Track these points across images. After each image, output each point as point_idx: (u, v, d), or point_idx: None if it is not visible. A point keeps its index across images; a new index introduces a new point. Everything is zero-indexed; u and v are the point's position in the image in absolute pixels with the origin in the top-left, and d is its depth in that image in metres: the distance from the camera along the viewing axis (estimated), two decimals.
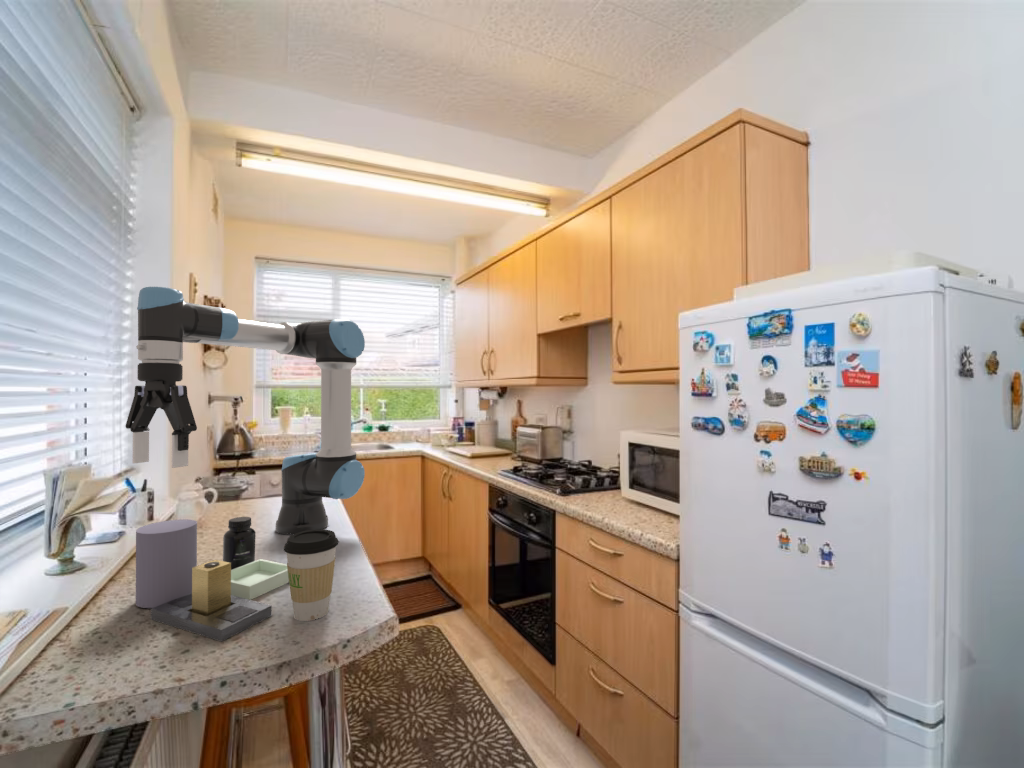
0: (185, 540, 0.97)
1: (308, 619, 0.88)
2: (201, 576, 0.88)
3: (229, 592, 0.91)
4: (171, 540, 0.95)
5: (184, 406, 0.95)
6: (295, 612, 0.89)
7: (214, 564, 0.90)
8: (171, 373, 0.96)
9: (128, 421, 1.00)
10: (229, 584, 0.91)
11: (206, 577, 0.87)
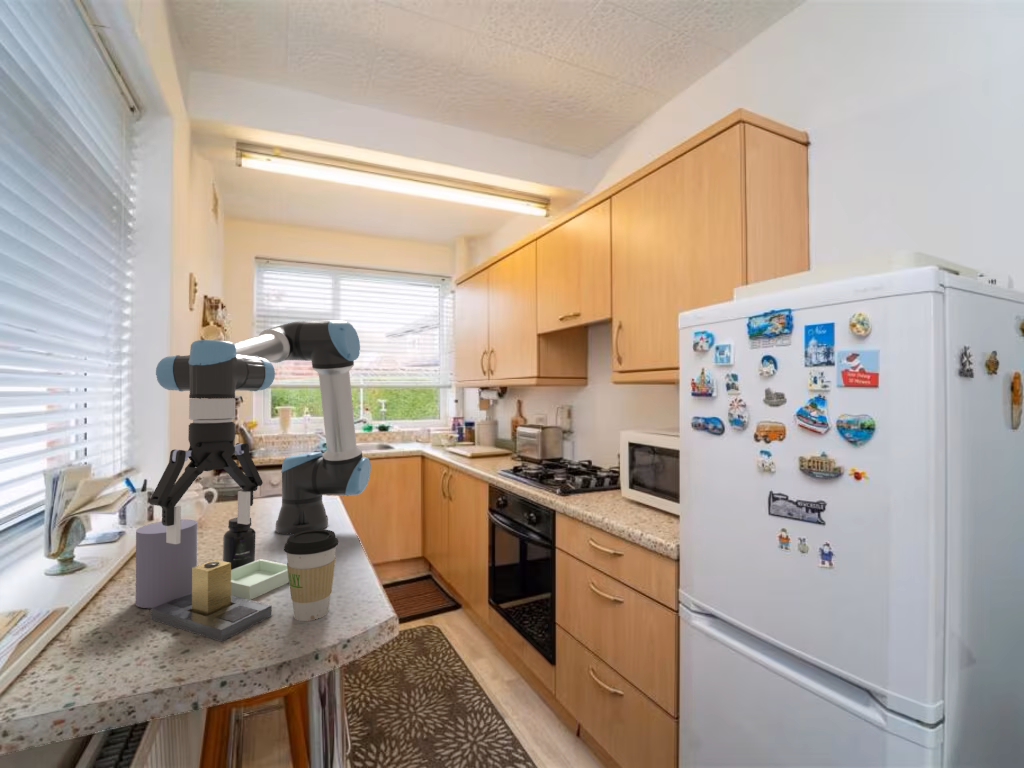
0: (185, 540, 0.97)
1: (308, 619, 0.88)
2: (201, 576, 0.88)
3: (229, 592, 0.91)
4: None
5: (167, 474, 0.82)
6: (295, 612, 0.89)
7: (214, 564, 0.90)
8: (192, 434, 0.87)
9: None
10: (229, 584, 0.91)
11: (206, 577, 0.87)
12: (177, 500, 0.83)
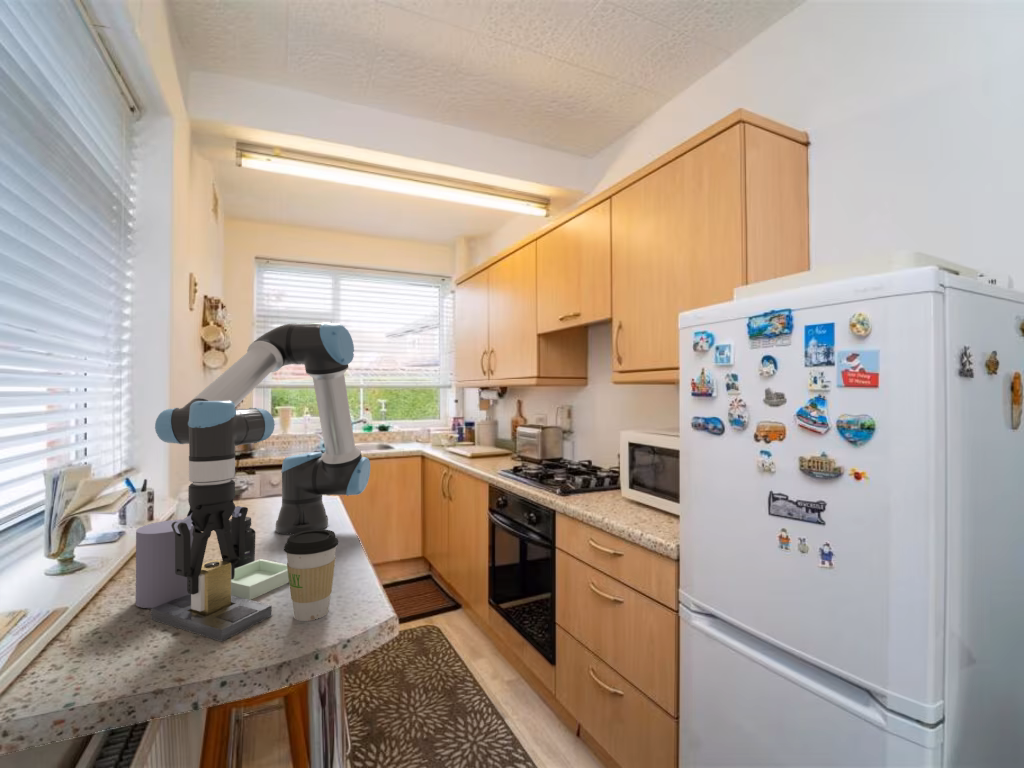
0: None
1: (308, 619, 0.88)
2: None
3: (229, 592, 0.91)
4: (171, 540, 0.95)
5: (179, 548, 0.84)
6: (295, 612, 0.89)
7: (214, 564, 0.90)
8: (192, 497, 0.86)
9: None
10: (229, 584, 0.91)
11: (206, 577, 0.87)
12: (200, 568, 0.87)
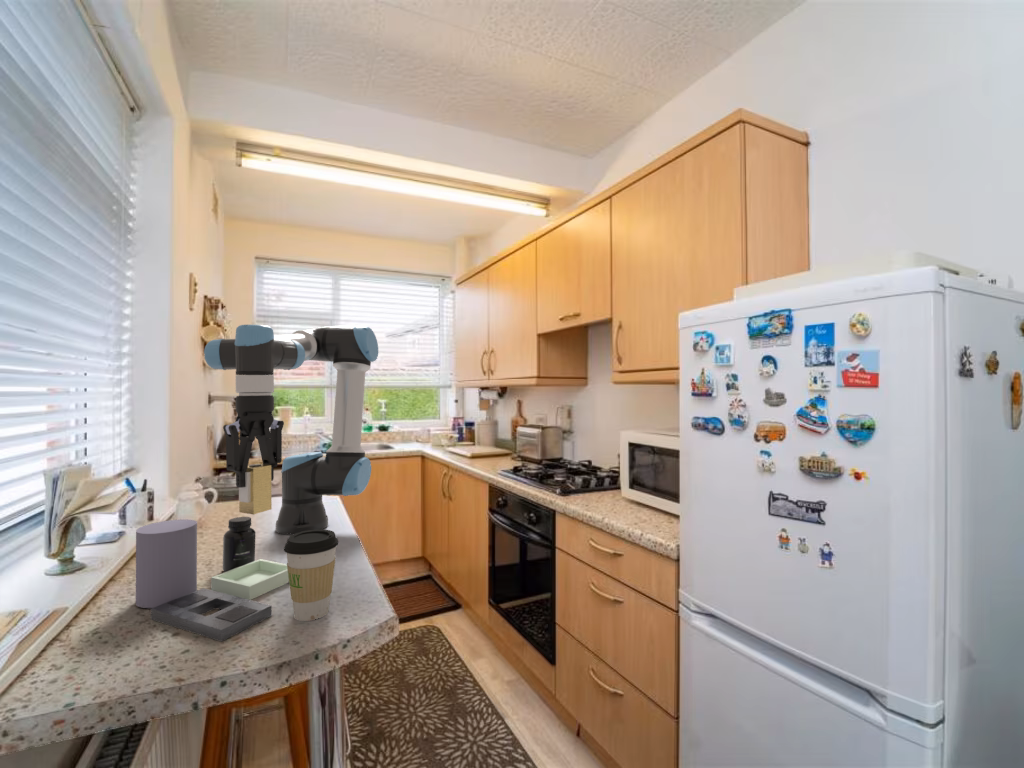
0: (185, 540, 0.97)
1: (308, 619, 0.88)
2: None
3: (270, 490, 1.06)
4: (171, 540, 0.95)
5: (230, 446, 0.99)
6: (295, 612, 0.89)
7: (257, 465, 1.05)
8: (239, 405, 1.01)
9: None
10: (270, 483, 1.06)
11: (252, 474, 1.02)
12: (246, 465, 1.02)
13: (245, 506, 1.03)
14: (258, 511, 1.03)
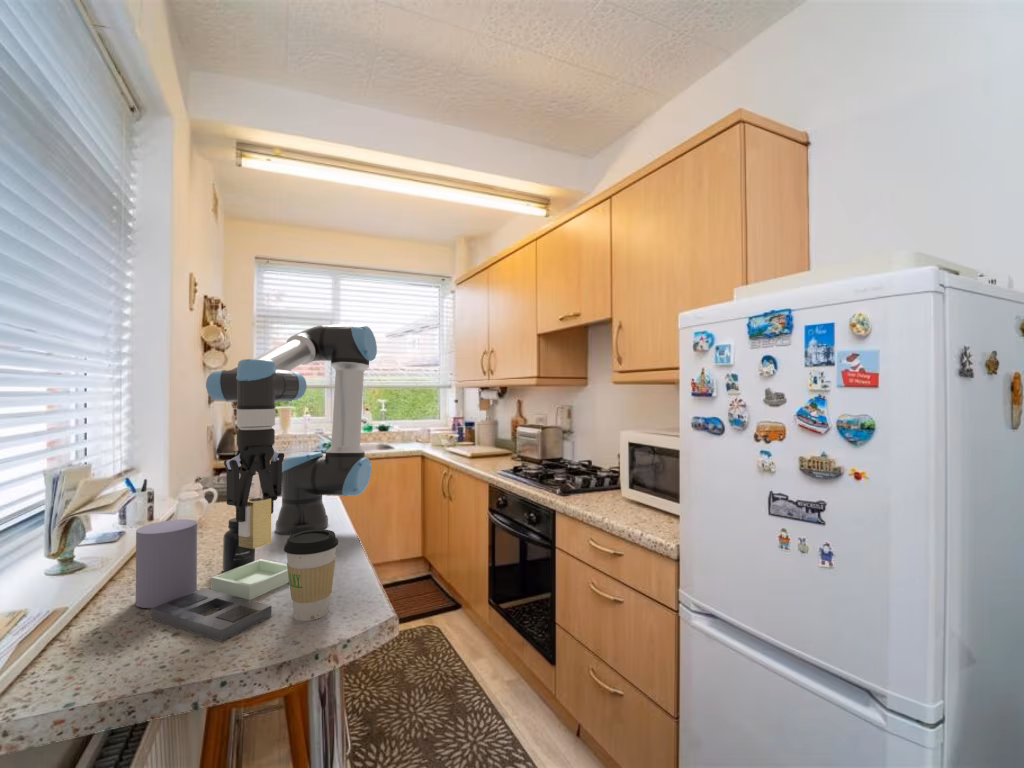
0: (185, 540, 0.97)
1: (308, 619, 0.88)
2: None
3: (270, 523, 1.06)
4: (171, 540, 0.95)
5: (230, 481, 1.00)
6: (295, 612, 0.89)
7: (257, 498, 1.05)
8: (240, 440, 1.02)
9: None
10: (270, 516, 1.06)
11: (252, 508, 1.02)
12: (246, 500, 1.02)
13: (245, 540, 1.03)
14: (257, 545, 1.03)
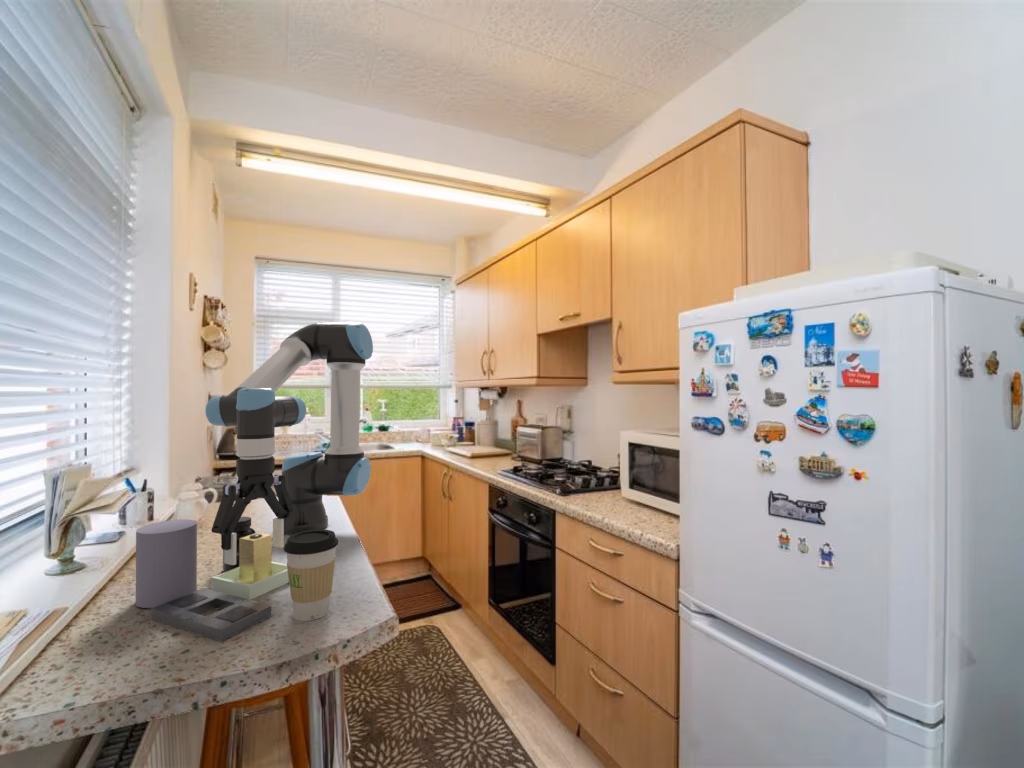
0: (185, 540, 0.97)
1: (308, 619, 0.88)
2: (247, 545, 1.03)
3: (270, 560, 1.06)
4: (171, 540, 0.95)
5: (223, 507, 0.98)
6: (295, 612, 0.89)
7: (258, 536, 1.05)
8: (240, 469, 1.02)
9: None
10: (270, 553, 1.06)
11: (252, 546, 1.02)
12: (233, 528, 0.99)
13: (245, 578, 1.03)
14: None
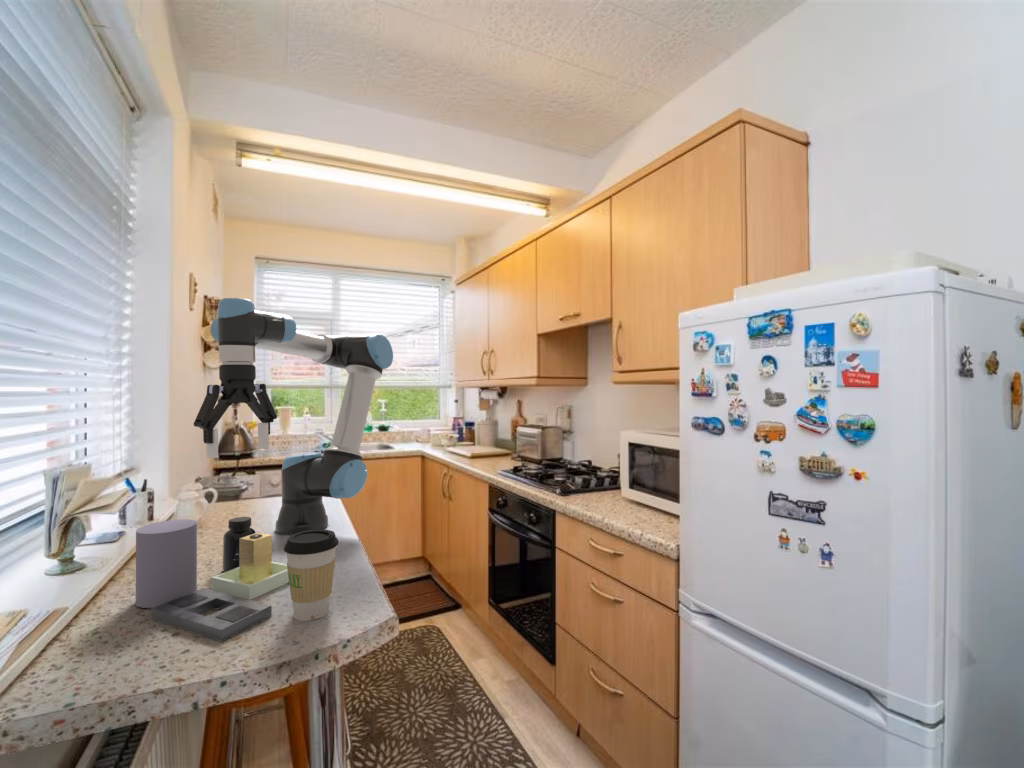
0: (185, 540, 0.97)
1: (308, 619, 0.88)
2: (247, 545, 1.03)
3: (270, 560, 1.06)
4: (171, 540, 0.95)
5: (206, 403, 1.04)
6: (295, 612, 0.89)
7: (258, 536, 1.05)
8: (223, 373, 1.08)
9: None
10: (270, 553, 1.06)
11: (252, 546, 1.02)
12: (215, 424, 1.05)
13: (245, 578, 1.03)
14: None
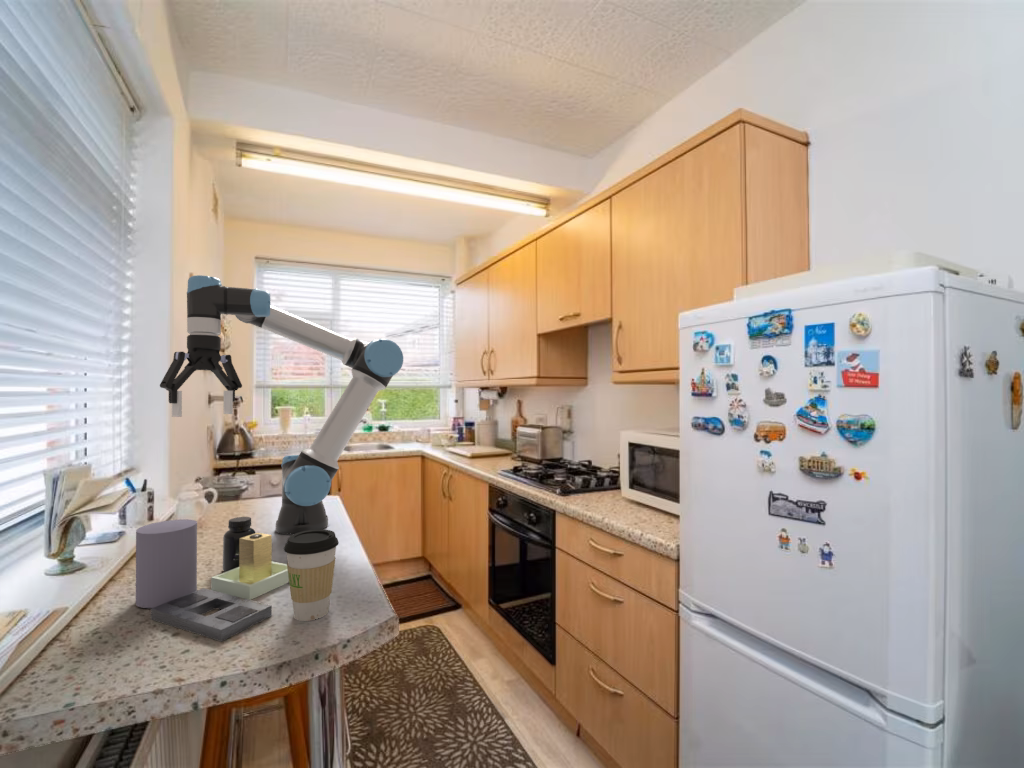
0: (185, 540, 0.97)
1: (308, 619, 0.88)
2: (247, 545, 1.03)
3: (270, 560, 1.06)
4: (171, 540, 0.95)
5: (172, 367, 1.17)
6: (295, 612, 0.89)
7: (258, 536, 1.05)
8: (189, 342, 1.21)
9: None
10: (270, 553, 1.06)
11: (252, 546, 1.02)
12: (179, 386, 1.18)
13: (245, 578, 1.03)
14: None
